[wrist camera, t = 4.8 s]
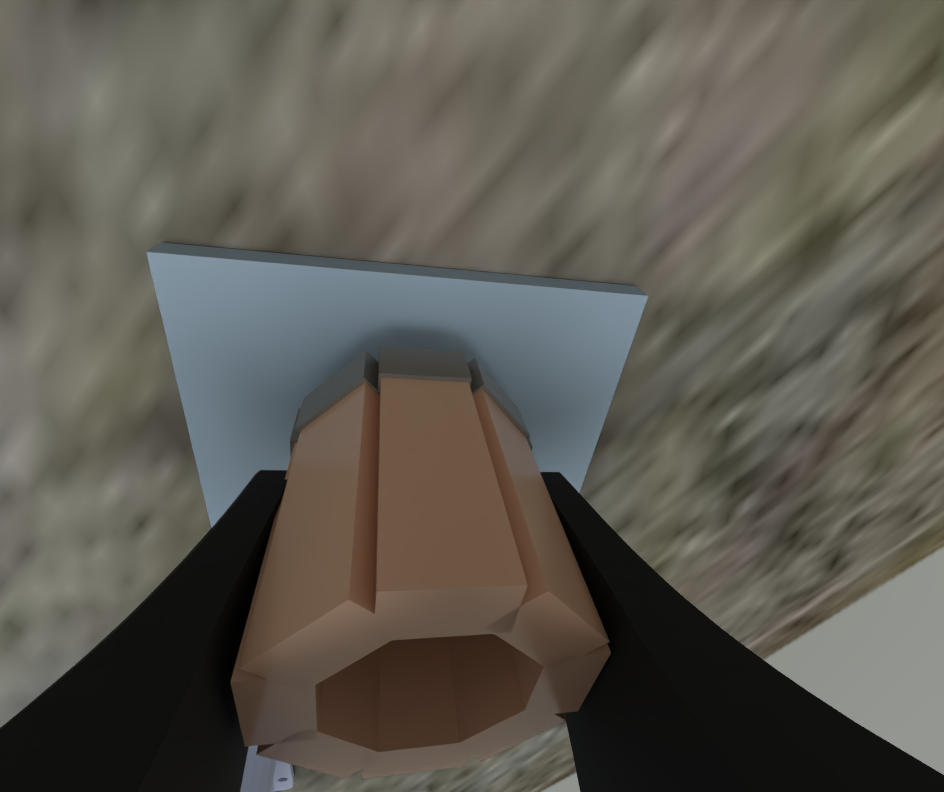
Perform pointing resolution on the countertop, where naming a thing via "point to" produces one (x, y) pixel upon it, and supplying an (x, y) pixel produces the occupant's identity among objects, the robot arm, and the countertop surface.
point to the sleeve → (412, 580)
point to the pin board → (376, 347)
